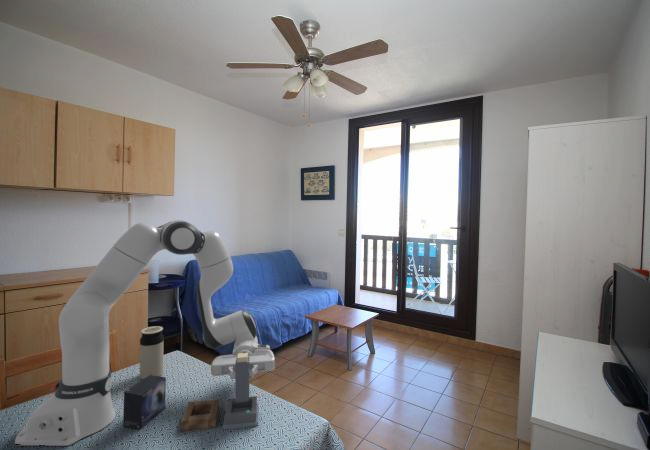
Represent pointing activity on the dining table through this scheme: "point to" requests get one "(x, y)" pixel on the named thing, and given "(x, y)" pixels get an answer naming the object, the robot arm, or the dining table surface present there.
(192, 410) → the frame
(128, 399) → the small box
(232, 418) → the dock
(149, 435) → the dining table surface
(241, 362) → the plug
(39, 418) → the robot arm
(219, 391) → the dining table surface
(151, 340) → the travel mug
